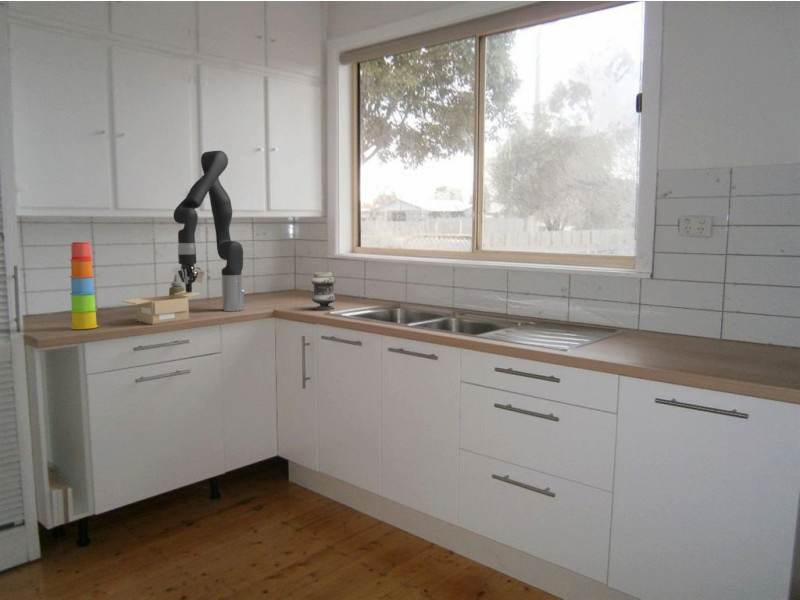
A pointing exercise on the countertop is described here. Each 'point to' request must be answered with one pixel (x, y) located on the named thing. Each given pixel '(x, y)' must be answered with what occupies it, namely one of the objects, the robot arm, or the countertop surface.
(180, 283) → the squeeze bottle
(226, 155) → the robot arm
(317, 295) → the apothecary jar
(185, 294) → the flap
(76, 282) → the stacking cups
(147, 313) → the carton
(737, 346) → the countertop surface
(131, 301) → the flap
